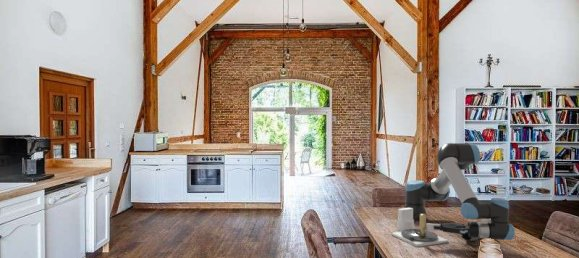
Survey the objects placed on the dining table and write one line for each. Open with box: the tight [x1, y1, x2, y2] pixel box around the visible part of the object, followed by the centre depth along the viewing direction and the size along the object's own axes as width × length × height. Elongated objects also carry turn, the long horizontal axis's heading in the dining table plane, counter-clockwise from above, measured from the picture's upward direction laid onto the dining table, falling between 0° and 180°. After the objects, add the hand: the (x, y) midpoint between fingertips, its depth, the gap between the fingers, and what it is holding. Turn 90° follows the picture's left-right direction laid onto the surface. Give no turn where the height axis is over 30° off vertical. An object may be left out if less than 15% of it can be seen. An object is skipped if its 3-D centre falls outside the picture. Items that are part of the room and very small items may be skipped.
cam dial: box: [400, 213, 439, 241], centre depth 194 cm, size 18×18×13 cm
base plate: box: [391, 231, 449, 247], centre depth 194 cm, size 20×20×3 cm
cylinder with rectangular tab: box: [396, 207, 415, 232], centre depth 210 cm, size 9×9×12 cm
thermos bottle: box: [461, 219, 491, 242], centre depth 197 cm, size 8×8×28 cm
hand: (426, 226), depth 185 cm, fingers closed
